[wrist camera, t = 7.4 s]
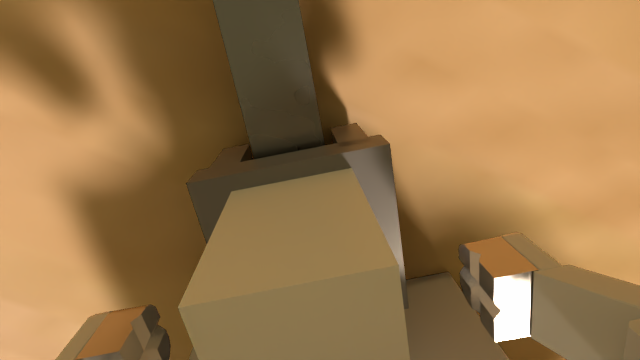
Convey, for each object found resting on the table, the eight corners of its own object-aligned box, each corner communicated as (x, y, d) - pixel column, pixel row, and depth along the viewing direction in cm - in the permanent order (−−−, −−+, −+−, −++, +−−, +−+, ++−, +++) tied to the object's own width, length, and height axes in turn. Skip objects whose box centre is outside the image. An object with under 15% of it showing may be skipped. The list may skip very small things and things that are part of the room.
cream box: (366, 121, 13) (471, 222, 5) (384, 253, 16) (479, 468, 7) (213, 150, 13) (90, 296, 5) (252, 278, 16) (205, 521, 8)
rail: (251, -240, 10) (237, -327, 8) (350, 291, 17) (358, 329, 14) (170, -224, 10) (132, -307, 8) (301, 300, 17) (301, 340, 14)
